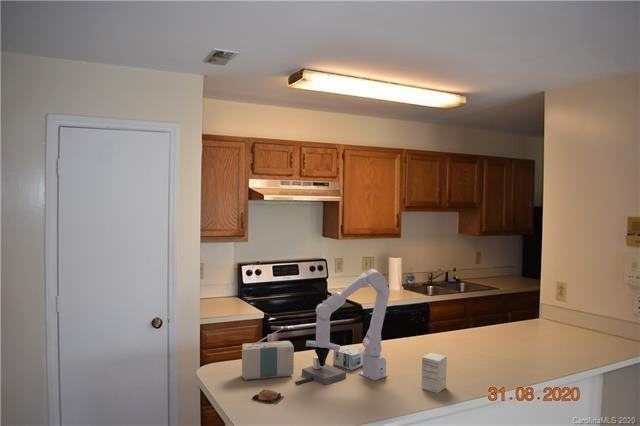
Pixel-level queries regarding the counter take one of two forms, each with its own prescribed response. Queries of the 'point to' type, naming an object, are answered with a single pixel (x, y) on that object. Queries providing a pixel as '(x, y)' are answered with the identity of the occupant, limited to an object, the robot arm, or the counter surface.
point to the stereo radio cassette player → (267, 359)
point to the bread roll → (268, 397)
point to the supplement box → (434, 372)
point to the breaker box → (324, 374)
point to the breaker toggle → (316, 363)
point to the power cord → (303, 380)
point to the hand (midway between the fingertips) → (322, 365)
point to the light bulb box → (348, 357)
